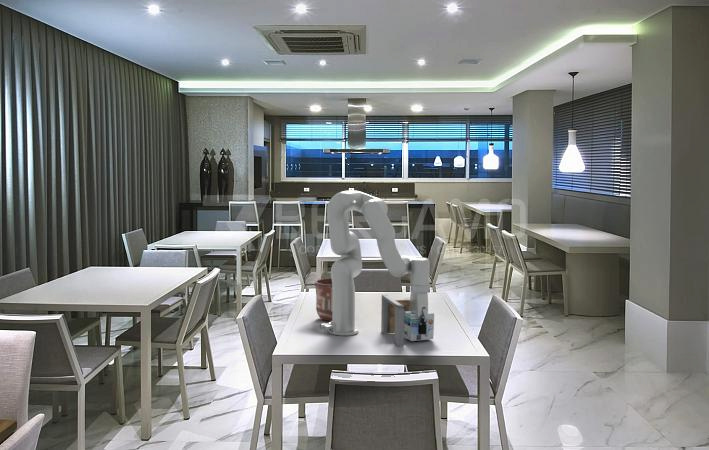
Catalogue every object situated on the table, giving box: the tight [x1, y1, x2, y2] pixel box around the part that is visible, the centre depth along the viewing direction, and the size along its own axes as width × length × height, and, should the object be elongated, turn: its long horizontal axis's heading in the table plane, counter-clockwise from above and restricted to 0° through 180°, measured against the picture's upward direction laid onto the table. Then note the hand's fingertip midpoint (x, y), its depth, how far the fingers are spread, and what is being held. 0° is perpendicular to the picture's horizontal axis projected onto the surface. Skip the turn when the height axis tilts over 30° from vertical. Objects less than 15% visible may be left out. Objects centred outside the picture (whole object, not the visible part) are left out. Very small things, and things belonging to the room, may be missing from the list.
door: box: [386, 299, 410, 334], centre depth 258 cm, size 14×1×14 cm, turn 99°
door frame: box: [380, 294, 405, 348], centre depth 249 cm, size 2×24×16 cm, turn 14°
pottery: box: [314, 277, 333, 323], centre depth 281 cm, size 18×18×18 cm
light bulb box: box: [404, 310, 435, 342], centre depth 247 cm, size 11×7×11 cm, turn 112°
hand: (418, 331), depth 248 cm, fingers closed on light bulb box, 7 cm apart
